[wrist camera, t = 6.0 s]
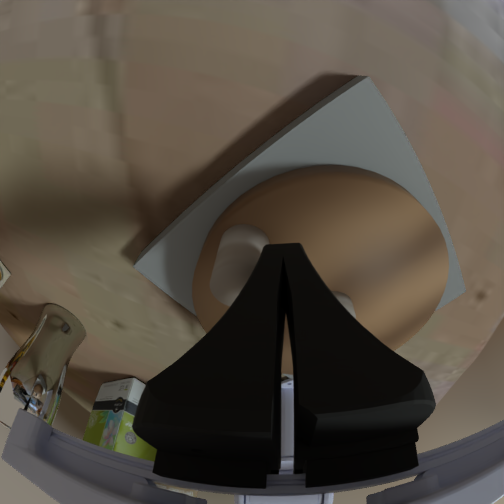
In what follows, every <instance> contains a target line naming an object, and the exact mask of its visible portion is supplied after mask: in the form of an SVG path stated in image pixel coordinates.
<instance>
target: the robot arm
mask: <svg viewBox="0 0 504 504" xmlns="http://www.w3.org/2000/svg"><path fill="white" fill-rule="evenodd" d="M285 317H287V324H288V332H289V339H290V346H291V354H292V363H293V379H287V380H284V381H281V369H282V354H283V342H284V330H285ZM435 406H436V403H435V399H434V396H433V392H432V389H431V387H430V384H429V382H428V380H427V378H426V375H425V373H424V371H423V370H421V369H420V368H418V367H417V366H415V365H414V364H412V363H410V362H409V361H407V360H406V359H404V358H403V357H401V356H400V355H398V354H397V353H395V352H394V351H393V350H391V349H390V348H389V347H387V346H386V345H385V344H383V343H382V342H381V341H380V340H379V339H378V338H376V337H375V336H374V335H373V334H372V333H371V332H369V331H368V330H367V329H366V328H365V327H364V326H363V325H362V324H360V323H359V322H358V321H357V320H356V319H355V318H354V317H353V316H352V315H351V314H350V312H349V311H348V310H347V309H346V308H345V307H344V306H343V305H342V304H341V303H340V301H339V300H338V299H337V298H336V297H335V295H334V294H333V293H332V292H331V290H330V289H329V288H328V287H327V285H326V284H325V283H324V281H323V280H322V278H321V277H320V275H319V274H318V272H317V271H316V270H315V268H314V266H313V265H312V263H311V261H310V260H309V258H308V256H307V254H306V252H305V250H304V248H303V246H302V244H300V243H282V244H266V245H265V246H264V247H263V249H262V252H261V255H260V257H259V259H258V262H257V264H256V266H255V268H254V270H253V271H252V273H251V275H250V277H249V279H248V280H247V282H246V284H245V285H244V287H243V288H242V290H241V291H240V293H239V295H238V296H237V298H236V299H235V300H234V302H233V303H232V305H231V306H230V307H229V309H228V310H227V311H226V312H225V314H224V315H223V316H222V317H221V318H220V320H219V321H218V322H217V323H216V324H215V325H214V326H213V327H212V328H211V330H210V331H209V332H208V333H207V334H206V335H205V336H204V337H203V338H202V339H201V340H200V341H199V342H198V343H196V344H195V345H194V346H193V347H192V348H191V349H190V350H189V351H187V352H186V353H185V354H184V355H183V356H182V357H181V358H179V359H178V360H177V361H176V362H174V363H173V364H172V365H170V366H169V367H168V368H166V369H165V370H163V371H162V372H161V373H159V374H158V375H157V376H155V377H154V378H152V379H151V380H149V381H148V382H147V383H146V386H145V388H144V390H143V392H142V394H141V397H140V400H139V403H138V406H137V410H136V413H135V417H134V420H133V424H132V429H133V431H134V432H135V434H136V435H137V436H139V437H140V438H141V439H142V440H144V441H145V442H147V443H148V444H150V445H151V446H152V447H154V448H155V449H157V452H156V456H155V461H150V460H145V459H141V458H137V457H133V456H130V455H126V454H123V453H119V452H116V451H112V450H109V449H106V448H103V447H100V446H97V445H94V444H91V443H89V442H86V441H83V440H81V439H78V438H76V437H73V436H71V435H68V434H66V433H63V432H61V431H59V430H56V429H54V428H52V426H51V425H49V424H48V423H46V422H45V421H44V420H42V419H40V418H39V417H37V416H35V415H33V414H31V413H29V412H27V411H26V410H24V409H22V408H19V409H18V412H17V414H16V417H15V419H14V422H13V424H12V427H11V430H10V433H9V435H8V438H7V441H6V444H5V447H4V450H3V454H2V459H3V460H4V461H5V462H7V463H8V464H9V465H10V466H12V467H13V468H14V469H16V470H17V471H18V472H20V473H21V474H22V475H23V476H25V477H26V478H27V479H29V480H30V481H31V482H32V483H33V484H35V485H36V486H37V487H39V488H40V489H41V490H42V491H44V492H45V493H46V494H48V495H49V496H50V497H52V498H53V499H54V500H56V501H57V502H59V503H60V504H207V501H206V500H205V499H201V498H196V497H192V496H189V495H186V494H183V493H179V492H174V491H170V490H166V489H162V488H158V487H157V486H156V484H155V483H154V482H157V483H161V484H166V485H170V486H175V487H180V488H186V489H192V490H199V491H206V492H213V493H222V494H234V496H235V504H332V503H333V497H334V493H335V492H342V491H349V490H355V489H362V488H367V487H372V486H377V485H382V484H386V483H390V482H394V481H398V480H402V479H406V478H409V477H412V476H416V475H417V477H416V478H415V479H414V481H411V482H408V483H405V484H402V485H398V486H395V487H391V488H387V489H385V490H384V491H381V492H378V493H374V494H371V495H368V496H367V498H366V499H367V504H493V503H495V502H496V501H497V500H499V499H500V498H502V497H503V496H504V420H502V421H500V422H499V423H497V424H495V425H492V426H490V427H489V428H486V429H484V430H482V431H480V432H478V433H475V434H473V435H471V436H468V437H466V438H463V439H461V440H458V441H455V442H453V443H450V444H448V445H445V446H442V447H439V448H436V449H433V450H430V451H427V452H423V453H420V454H417V450H416V445H415V442H417V441H418V439H419V436H418V431H417V427H419V426H420V425H421V424H422V423H423V422H424V421H425V420H426V419H427V418H428V417H429V416H430V415H431V414H432V413H433V411H434V409H435ZM152 481H153V482H152Z"/></svg>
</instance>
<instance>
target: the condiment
mask: <svg viewBox="0 0 504 504" xmlns="http://www.w3.org/2000/svg"><path fill="white" fill-rule="evenodd" d="M10 275H11V274H10V272H9V271H8V270H7V269H6V268H5V266H4V265H3V264H2V262H1V261H0V288H1V287H2V286H3V284H4V283H5V282H6V280H7V279H8V277H9V276H10Z"/></svg>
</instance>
